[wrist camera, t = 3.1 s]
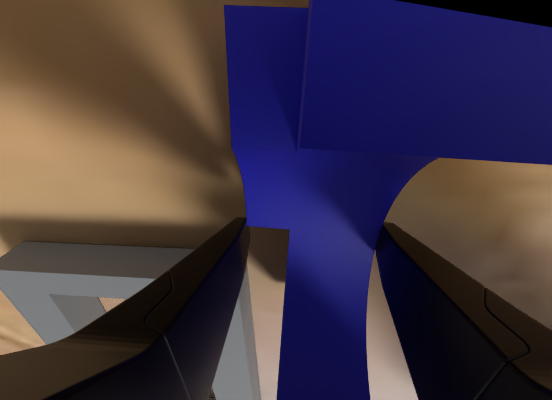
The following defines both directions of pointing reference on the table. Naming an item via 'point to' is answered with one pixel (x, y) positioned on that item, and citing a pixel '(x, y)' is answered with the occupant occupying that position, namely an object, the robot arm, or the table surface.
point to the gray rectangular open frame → (114, 284)
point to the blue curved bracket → (369, 141)
